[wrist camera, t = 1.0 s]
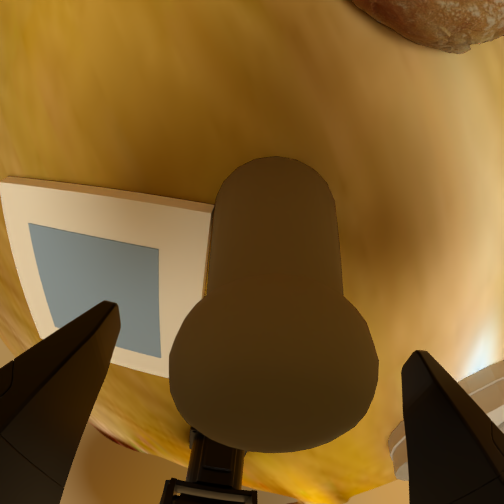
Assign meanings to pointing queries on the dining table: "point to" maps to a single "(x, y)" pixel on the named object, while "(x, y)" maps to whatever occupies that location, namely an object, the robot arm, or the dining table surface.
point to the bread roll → (440, 21)
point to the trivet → (109, 260)
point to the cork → (274, 320)
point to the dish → (480, 390)
